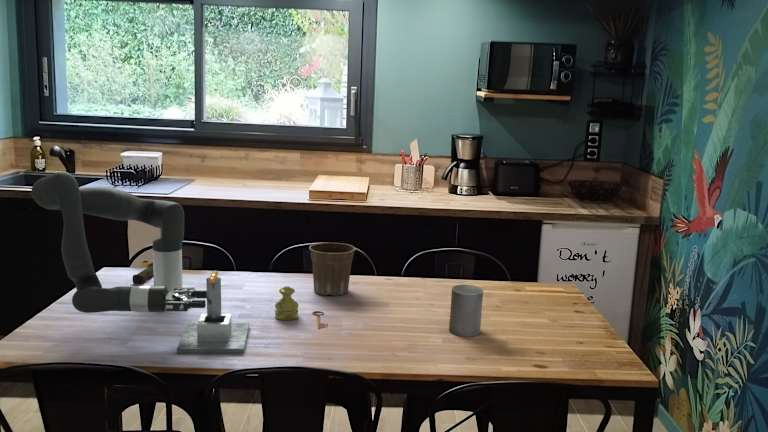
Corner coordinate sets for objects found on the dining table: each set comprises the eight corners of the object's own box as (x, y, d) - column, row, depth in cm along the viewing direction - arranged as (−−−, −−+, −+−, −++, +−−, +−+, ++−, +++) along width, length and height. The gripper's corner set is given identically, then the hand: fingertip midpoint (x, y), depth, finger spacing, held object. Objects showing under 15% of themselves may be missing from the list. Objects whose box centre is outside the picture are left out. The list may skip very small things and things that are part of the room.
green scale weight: (288, 311, 238) (289, 282, 236) (303, 317, 233) (303, 287, 231) (270, 316, 233) (270, 286, 231) (284, 322, 227) (284, 292, 225)
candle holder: (188, 328, 220) (188, 307, 219) (249, 327, 222) (249, 307, 220) (176, 353, 200) (176, 331, 199) (243, 353, 202) (243, 331, 201)
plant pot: (328, 281, 272) (329, 239, 268) (363, 290, 262) (364, 247, 259) (299, 291, 259) (299, 247, 255) (334, 301, 249) (335, 255, 246)
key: (331, 330, 224) (329, 314, 239) (331, 328, 224) (330, 311, 238) (312, 329, 223) (312, 312, 238) (312, 326, 223) (312, 309, 238)
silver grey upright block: (209, 329, 215) (208, 269, 211) (223, 329, 215) (222, 269, 211) (205, 341, 206) (204, 278, 202) (219, 341, 207) (218, 278, 203)
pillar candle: (443, 327, 228) (446, 281, 225) (470, 324, 232) (473, 279, 229) (458, 339, 220) (461, 291, 216) (486, 335, 223) (490, 288, 220)
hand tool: (142, 285, 259) (142, 273, 259) (132, 284, 260) (131, 272, 259) (166, 271, 278) (166, 259, 277) (156, 270, 278) (156, 258, 277)
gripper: (143, 294, 199) (204, 294, 201) (153, 278, 213) (210, 279, 215) (144, 320, 200) (204, 320, 202) (154, 303, 214) (210, 303, 216)
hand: (207, 299), depth 208 cm, fingers open, 8 cm apart
